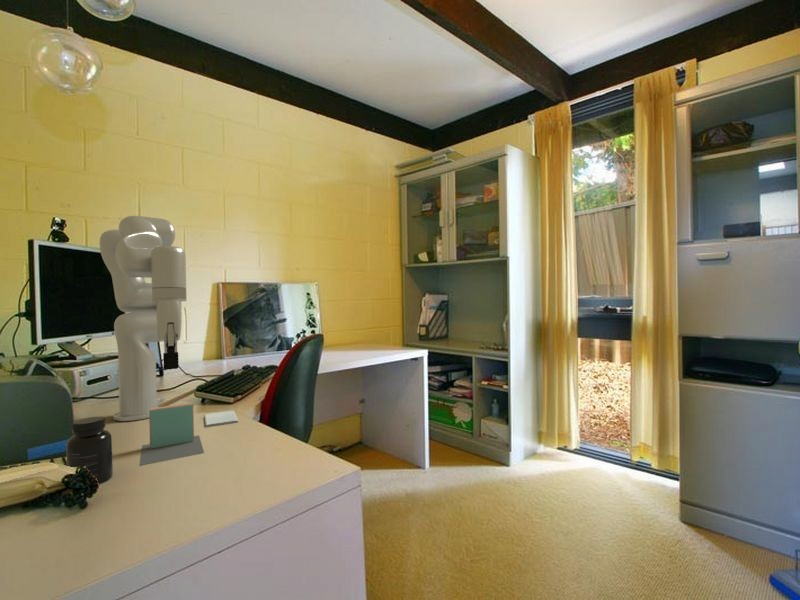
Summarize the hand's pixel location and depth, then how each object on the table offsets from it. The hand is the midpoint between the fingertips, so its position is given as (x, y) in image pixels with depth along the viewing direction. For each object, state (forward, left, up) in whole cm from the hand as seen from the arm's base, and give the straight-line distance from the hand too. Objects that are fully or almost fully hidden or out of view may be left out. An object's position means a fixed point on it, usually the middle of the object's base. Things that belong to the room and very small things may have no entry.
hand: (171, 368), depth 98 cm
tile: (+5, +3, -17) cm, 18 cm away
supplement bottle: (+24, 0, -18) cm, 30 cm away
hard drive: (-15, +4, -18) cm, 24 cm away
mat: (+8, +5, -18) cm, 20 cm away
